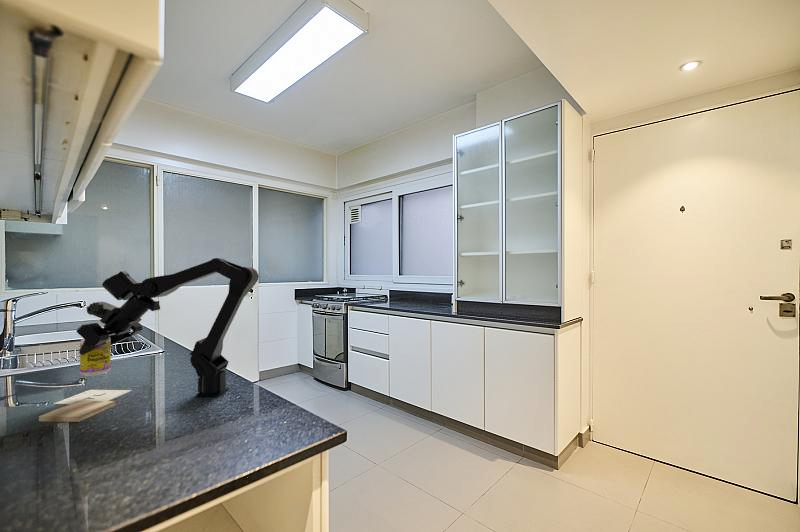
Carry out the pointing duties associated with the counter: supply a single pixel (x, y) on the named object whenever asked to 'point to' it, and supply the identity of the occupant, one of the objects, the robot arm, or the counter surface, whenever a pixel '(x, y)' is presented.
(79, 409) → the oak pad
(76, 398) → the tile
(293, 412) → the counter surface
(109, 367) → the supplement bottle
